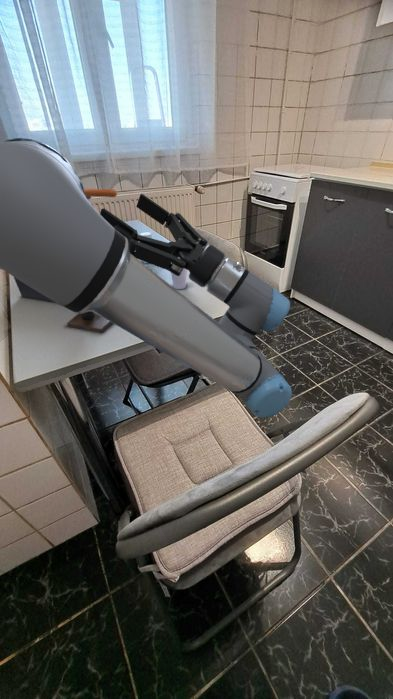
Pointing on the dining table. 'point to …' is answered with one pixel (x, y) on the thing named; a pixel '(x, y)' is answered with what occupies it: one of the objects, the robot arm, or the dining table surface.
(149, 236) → the supplement bottle
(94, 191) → the orange rod
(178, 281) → the smoothie
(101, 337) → the dining table surface
